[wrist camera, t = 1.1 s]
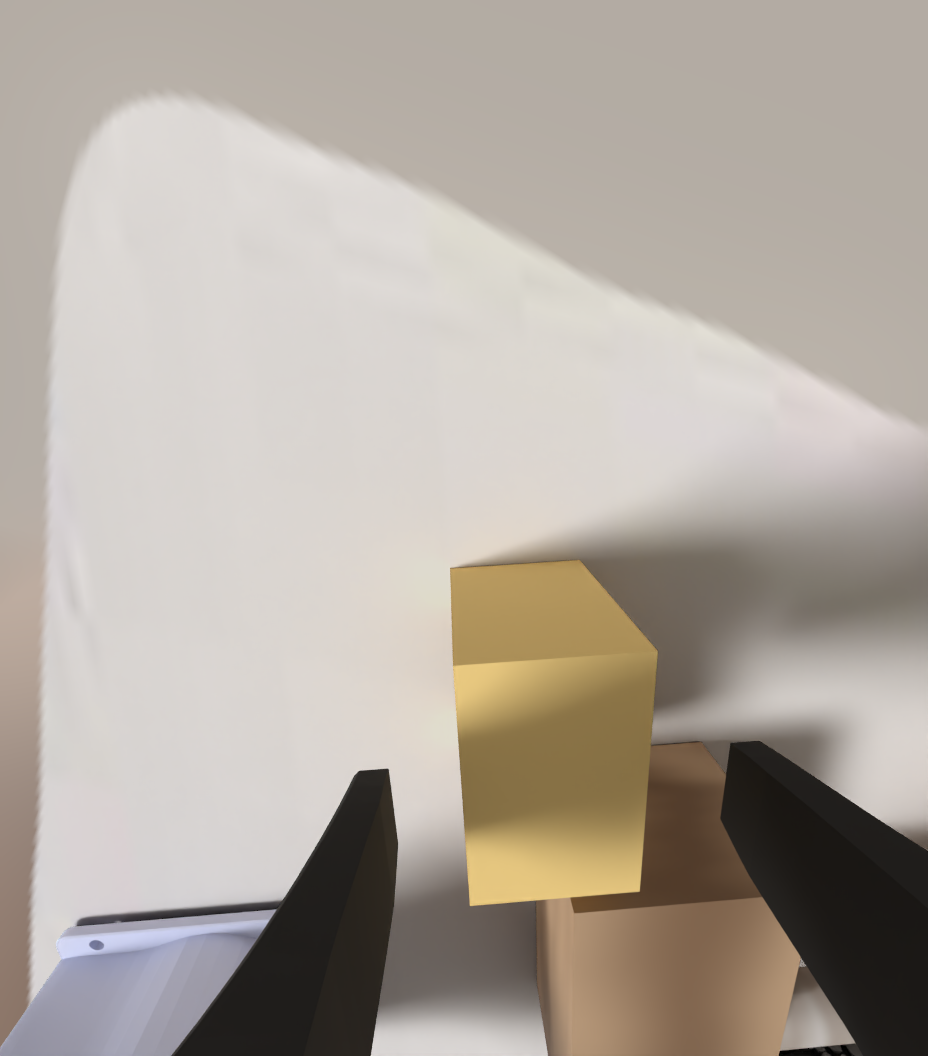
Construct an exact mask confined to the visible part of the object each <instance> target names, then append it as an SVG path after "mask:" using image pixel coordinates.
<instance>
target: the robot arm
mask: <svg viewBox="0 0 928 1056" xmlns="http://www.w3.org/2000/svg"><path fill="white" fill-rule="evenodd" d="M720 819H721V822H722V824H723V826H724V828H725V830H726V832H727V834H728V836H729V838H730V840H731V842H732V844H733V846H734V848H735V850H736V852H737V854H738V856H739V858H740V859H741V861H742V863H743V865H744V867H745V869H746V871H747V873H748V875H749V876H750V878H751V880H752V881H753V883H754V884H755V886H756V888H757V889H758V891H759V892H760V894H761V896H762V897H763V899H764V900H765V902H766V904H767V905H768V907H769V908H770V910H771V911H772V913H773V915H774V916H775V918H776V919H777V921H778V922H779V924H780V926H781V927H782V929H783V930H784V932H785V933H786V935H787V936H788V938H789V940H790V941H791V943H792V944H793V946H794V947H795V949H796V950H797V952H798V954H799V955H800V957H801V958H802V960H803V961H804V963H805V964H806V966H807V968H808V969H809V971H810V972H811V974H812V975H813V977H814V978H815V980H816V982H817V983H818V985H819V986H820V988H821V989H822V991H823V992H824V994H825V996H826V997H827V999H828V1000H829V1002H830V1003H831V1005H832V1006H833V1008H834V1009H835V1011H836V1013H837V1014H838V1016H839V1017H840V1019H841V1020H842V1022H843V1023H844V1025H845V1027H846V1028H847V1030H848V1032H849V1033H850V1035H851V1037H852V1038H853V1040H854V1041H855V1043H856V1045H857V1046H858V1048H859V1050H860V1051H861V1053H862V1055H863V1056H928V851H927V850H925V849H924V848H922V847H920V846H919V845H917V844H916V843H914V842H912V841H911V840H909V839H908V838H906V837H905V836H903V835H902V834H900V833H898V832H897V831H895V830H894V829H892V828H891V827H889V826H888V825H886V824H885V823H883V822H881V821H880V820H878V819H877V818H875V817H874V816H872V815H871V814H869V813H868V812H866V811H865V810H863V809H862V808H860V807H859V806H857V805H856V804H854V803H853V802H851V801H850V800H848V799H847V798H845V797H844V796H842V795H841V794H839V793H838V792H836V791H835V790H833V789H832V788H830V787H829V786H827V785H826V784H824V783H823V782H821V781H820V780H818V779H817V778H815V777H814V776H812V775H811V774H809V773H808V772H806V771H805V770H803V769H802V768H800V767H799V766H797V765H796V764H794V763H793V762H791V761H790V760H788V759H787V758H785V757H784V756H782V755H781V754H779V753H778V752H776V751H775V750H773V749H771V748H770V747H768V746H767V745H765V744H763V743H762V742H760V741H751V742H738V743H731V744H730V751H729V758H728V766H727V773H726V780H725V787H724V794H723V801H722V808H721V816H720ZM397 853H398V839H397V832H396V824H395V816H394V808H393V800H392V792H391V784H390V777H389V769H378V770H364V771H359V772H358V773H357V774H356V775H355V776H354V777H353V779H352V782H351V784H350V786H349V788H348V790H347V791H346V793H345V795H344V797H343V799H342V801H341V803H340V805H339V807H338V809H337V810H336V812H335V814H334V816H333V818H332V819H331V821H330V823H329V825H328V827H327V828H326V830H325V832H324V834H323V835H322V837H321V839H320V841H319V842H318V844H317V846H316V847H315V849H314V851H313V852H312V854H311V856H310V857H309V859H308V861H307V862H306V864H305V866H304V867H303V869H302V871H301V872H300V874H299V876H298V877H297V879H296V880H295V882H294V884H293V885H292V887H291V888H290V890H289V892H288V893H287V895H286V896H285V898H284V899H283V901H282V902H281V904H280V905H279V907H278V908H277V909H274V910H262V911H250V912H239V913H227V914H215V915H204V916H192V917H180V918H169V919H157V920H145V921H134V922H122V923H110V924H98V925H87V926H75V927H70V928H68V929H66V930H65V931H64V932H63V933H62V935H61V936H60V938H59V939H58V940H57V942H56V947H57V950H58V953H59V955H60V957H61V959H62V960H60V962H59V963H58V965H57V966H56V968H55V969H54V971H53V972H52V973H51V975H50V976H49V978H48V979H47V981H46V982H45V984H44V985H43V987H42V988H41V989H40V991H39V992H38V994H37V995H36V997H35V998H34V1000H33V1001H32V1002H31V1004H30V1005H29V1007H28V1008H27V1010H26V1011H25V1013H24V1014H23V1016H22V1017H21V1018H20V1020H19V1021H18V1023H17V1024H16V1026H15V1027H14V1029H13V1030H12V1031H11V1033H10V1034H9V1036H8V1037H7V1039H6V1040H5V1042H4V1043H3V1044H2V1046H1V1048H0V1056H371V1050H372V1043H373V1037H374V1031H375V1024H376V1018H377V1011H378V1005H379V999H380V992H381V986H382V979H383V973H384V967H385V960H386V954H387V947H388V941H389V934H390V928H391V921H392V914H393V908H394V897H395V883H396V869H397Z"/></svg>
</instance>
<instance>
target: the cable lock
mask: <svg viewBox="0 0 928 1056" xmlns="http://www.w3.org/2000/svg"><path fill="white" fill-rule="evenodd" d="M845 1046H846V1048H841V1046H840V1045H833V1046H825V1048H824V1047H815V1048H813V1049H814V1051H815V1053H813V1052H801V1051H796V1052H791V1053H787V1054H783V1055H779V1056H863V1055H862V1053H861V1051H860V1050H859V1048H858V1046H857V1045H856V1044H855V1043H854V1044H845ZM825 1049H826V1050H825ZM825 1051H827V1053H826V1052H825Z"/></svg>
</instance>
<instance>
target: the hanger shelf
mask: <svg viewBox="0 0 928 1056" xmlns="http://www.w3.org/2000/svg"><path fill="white" fill-rule="evenodd" d="M725 780H726V774H725V773H724V771H723V770H722V769H721V767H720V766H719V765H718V763H717V762H716V761H715V759H714V758H713V757H712V755H711V754H710V753H709V751H708V750H707V749H706V747H705V746H704V745H703V744H702V742H694V743H681V744H668V745H655V746H651V749H650V762H649V775H648V789H647V802H646V815H645V828H644V841H643V855H642V868H641V881H640V892H629V893H617V894H605V895H593V896H582V897H570V898H558V899H546V900H536V950H537V988H538V994H539V1000H540V1007H541V1013H542V1019H543V1026H544V1032H545V1038H546V1044H547V1051H548V1056H779V1052H780V1051H781V1050H792V1049H802V1048H812V1047H823V1046H833V1045H843V1044H854V1043H855V1041H854V1040H853V1038H852V1037H851V1035H850V1033H849V1032H848V1030H847V1028H846V1027H845V1025H844V1023H843V1022H842V1020H841V1019H840V1017H839V1016H838V1014H837V1013H836V1011H835V1009H834V1008H833V1006H832V1005H831V1003H830V1002H829V1000H828V999H827V997H826V996H825V994H824V992H823V991H822V989H821V988H820V986H819V985H818V983H817V982H816V980H815V978H814V977H813V975H812V974H811V972H810V971H809V969H808V968H807V966H806V967H799V964H800V959H801V957H800V955H799V954H798V952H797V950H796V949H795V947H794V946H793V944H792V943H791V941H790V940H789V938H788V936H787V935H786V933H785V932H784V930H783V929H782V927H781V926H780V924H779V922H778V921H777V919H776V918H775V916H774V915H773V913H772V911H771V910H770V908H769V907H768V905H767V904H766V902H765V900H764V899H763V897H762V896H761V894H760V892H759V891H758V889H757V888H756V886H755V884H754V883H753V881H752V880H751V878H750V876H749V875H748V873H747V871H746V869H745V867H744V865H743V863H742V861H741V859H740V858H739V856H738V854H737V852H736V850H735V848H734V846H733V844H732V842H731V840H730V838H729V836H728V834H727V832H726V830H725V828H724V826H723V824H722V822H721V819H720V816H721V808H722V801H723V794H724V787H725Z"/></svg>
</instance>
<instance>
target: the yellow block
mask: <svg viewBox="0 0 928 1056" xmlns="http://www.w3.org/2000/svg"><path fill="white" fill-rule="evenodd" d="M450 577H451V611H452V645H453V671H454V686H455V700H456V714H457V728H458V742H459V757H460V771H461V785H462V799H463V813H464V828H465V842H466V856H467V870H468V885H469V899H470V906H476V905H488V904H499V903H511V902H523V901H535V900H546V899H558V898H570V897H582V896H593V895H605V894H617V893H629V892H640V881H641V868H642V855H643V841H644V828H645V815H646V802H647V789H648V775H649V762H650V749H651V736H652V723H653V710H654V696H655V683H656V670H657V657H658V651H657V650H656V648H655V647H654V646H653V645H652V644H651V643H650V641H649V640H648V639H647V638H646V637H645V636H644V634H643V633H642V632H641V631H640V630H639V629H638V627H637V626H636V625H635V624H634V623H633V622H632V620H631V619H630V618H629V617H628V616H627V615H626V614H625V612H624V611H623V610H622V609H621V608H620V607H619V605H618V604H617V603H616V602H615V601H614V600H613V598H612V597H611V596H610V595H609V594H608V593H607V591H606V590H605V589H604V588H603V587H602V586H601V584H600V583H599V582H598V581H597V580H596V579H595V577H594V576H593V575H592V574H591V573H590V572H589V570H588V569H587V568H586V567H585V566H584V565H583V563H582V562H581V561H580V560H570V561H555V562H540V563H525V564H510V565H495V566H479V567H464V568H450Z"/></svg>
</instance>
